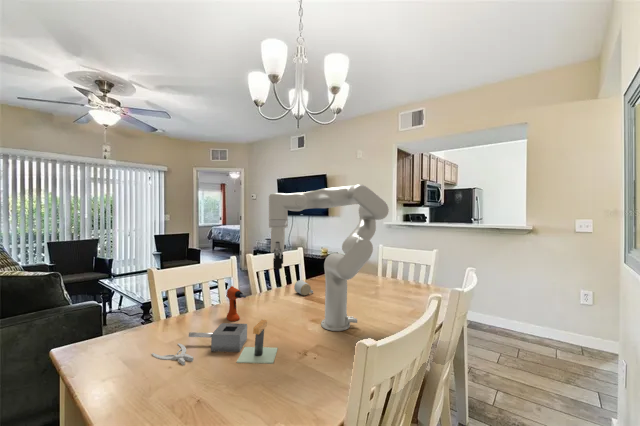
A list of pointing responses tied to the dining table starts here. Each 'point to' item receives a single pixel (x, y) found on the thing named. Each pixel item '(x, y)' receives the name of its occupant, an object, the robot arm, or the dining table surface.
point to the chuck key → (259, 337)
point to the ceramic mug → (302, 288)
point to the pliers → (176, 356)
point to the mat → (249, 356)
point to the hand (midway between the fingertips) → (278, 266)
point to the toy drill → (233, 303)
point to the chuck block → (226, 337)
